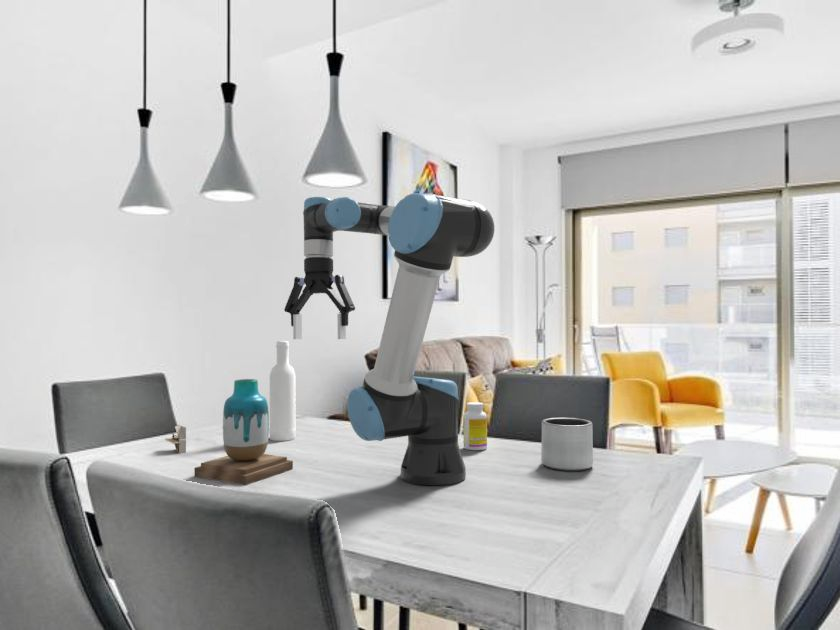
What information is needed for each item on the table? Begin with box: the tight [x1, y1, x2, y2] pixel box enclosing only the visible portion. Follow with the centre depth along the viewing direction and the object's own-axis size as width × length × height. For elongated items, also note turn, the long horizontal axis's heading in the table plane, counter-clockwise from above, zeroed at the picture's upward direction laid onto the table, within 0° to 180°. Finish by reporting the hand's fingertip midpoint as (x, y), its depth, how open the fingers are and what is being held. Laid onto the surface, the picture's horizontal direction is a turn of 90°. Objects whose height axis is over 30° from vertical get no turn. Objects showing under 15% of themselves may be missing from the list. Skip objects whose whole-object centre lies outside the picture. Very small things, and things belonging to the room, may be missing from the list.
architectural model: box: [164, 424, 187, 454], centre depth 168 cm, size 3×7×7 cm, turn 42°
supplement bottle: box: [462, 401, 488, 452], centre depth 171 cm, size 7×7×13 cm
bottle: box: [269, 340, 297, 442], centre depth 185 cm, size 8×8×30 cm
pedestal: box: [194, 453, 294, 486], centre depth 144 cm, size 16×16×3 cm
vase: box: [222, 378, 270, 461], centre depth 144 cm, size 11×11×19 cm
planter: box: [540, 417, 594, 472], centre depth 150 cm, size 12×12×11 cm
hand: (319, 339), depth 157 cm, fingers open, 13 cm apart
